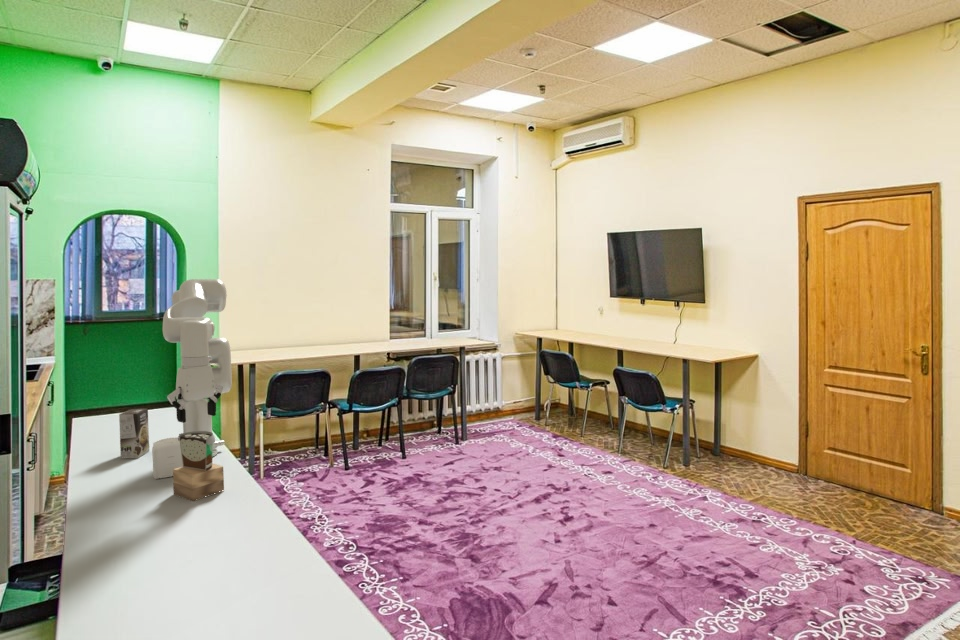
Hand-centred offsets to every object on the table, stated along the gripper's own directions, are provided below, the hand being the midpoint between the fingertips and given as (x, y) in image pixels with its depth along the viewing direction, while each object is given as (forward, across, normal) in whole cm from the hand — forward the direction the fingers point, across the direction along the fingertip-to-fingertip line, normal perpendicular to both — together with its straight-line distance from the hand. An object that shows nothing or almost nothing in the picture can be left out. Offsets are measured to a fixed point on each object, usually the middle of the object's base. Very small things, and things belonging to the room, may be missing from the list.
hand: (197, 418), depth 187 cm
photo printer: (+23, -3, -21) cm, 31 cm away
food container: (+15, -1, 0) cm, 15 cm away
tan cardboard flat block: (+23, +1, +1) cm, 23 cm away
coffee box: (+24, -9, -54) cm, 60 cm away
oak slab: (+19, +1, +1) cm, 19 cm away
